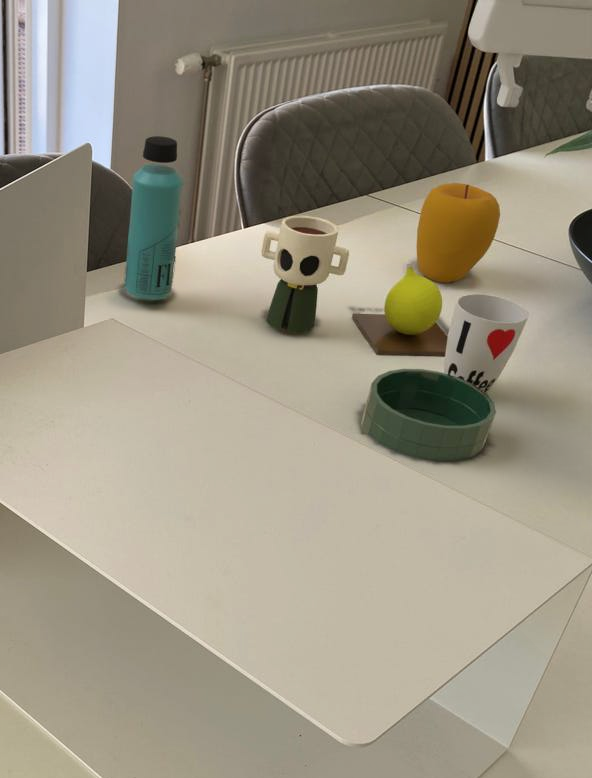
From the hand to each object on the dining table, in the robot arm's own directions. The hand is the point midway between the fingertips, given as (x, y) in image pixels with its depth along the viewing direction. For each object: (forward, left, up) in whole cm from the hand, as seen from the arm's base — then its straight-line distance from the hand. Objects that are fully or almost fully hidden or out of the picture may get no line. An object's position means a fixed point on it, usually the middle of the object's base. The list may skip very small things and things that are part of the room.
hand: (551, 108), depth 98 cm
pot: (+8, +10, -31) cm, 34 cm away
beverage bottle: (+34, -25, -31) cm, 52 cm away
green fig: (+1, -16, -31) cm, 35 cm away
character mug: (+16, -18, -31) cm, 39 cm away
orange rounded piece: (-12, -37, -31) cm, 50 cm away
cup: (-2, -2, -31) cm, 31 cm away
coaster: (+1, -16, -31) cm, 35 cm away
